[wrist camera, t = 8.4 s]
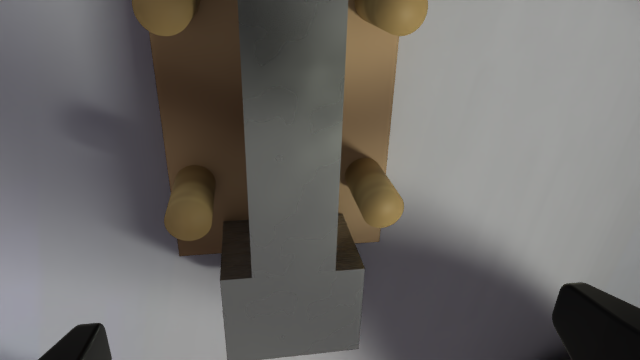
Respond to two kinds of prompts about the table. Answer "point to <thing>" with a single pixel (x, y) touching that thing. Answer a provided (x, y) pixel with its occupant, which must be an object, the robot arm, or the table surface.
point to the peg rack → (228, 121)
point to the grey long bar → (291, 189)
